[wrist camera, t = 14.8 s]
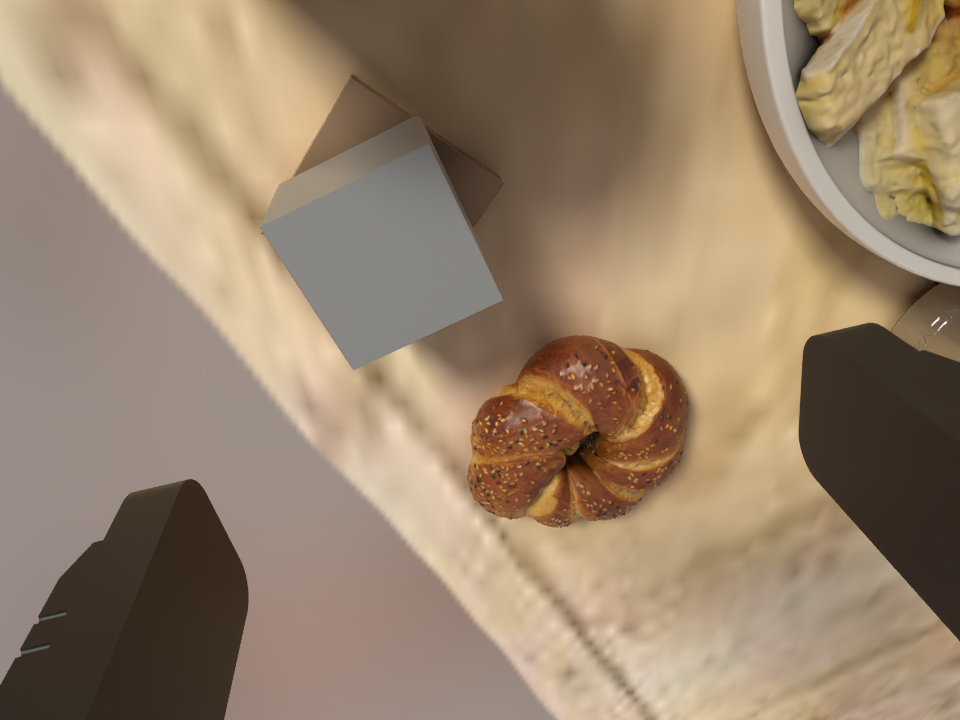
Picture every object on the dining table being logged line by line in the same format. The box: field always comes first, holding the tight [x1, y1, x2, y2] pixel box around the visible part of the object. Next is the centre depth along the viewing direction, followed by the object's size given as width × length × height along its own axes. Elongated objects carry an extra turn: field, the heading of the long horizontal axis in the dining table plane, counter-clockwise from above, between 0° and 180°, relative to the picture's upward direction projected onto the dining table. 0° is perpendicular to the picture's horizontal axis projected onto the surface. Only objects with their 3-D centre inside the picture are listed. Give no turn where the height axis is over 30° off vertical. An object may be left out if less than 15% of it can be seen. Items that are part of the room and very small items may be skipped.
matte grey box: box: [260, 114, 503, 370], centre depth 24 cm, size 6×6×5 cm
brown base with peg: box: [261, 75, 503, 235], centre depth 25 cm, size 7×7×6 cm
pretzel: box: [467, 336, 689, 528], centre depth 34 cm, size 12×11×4 cm
